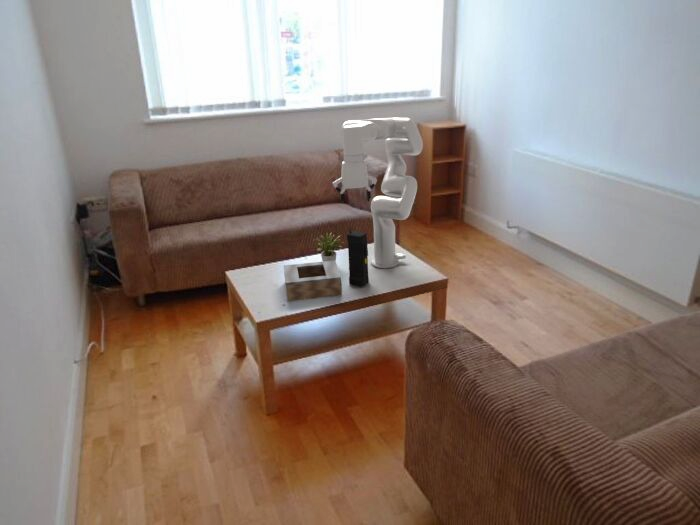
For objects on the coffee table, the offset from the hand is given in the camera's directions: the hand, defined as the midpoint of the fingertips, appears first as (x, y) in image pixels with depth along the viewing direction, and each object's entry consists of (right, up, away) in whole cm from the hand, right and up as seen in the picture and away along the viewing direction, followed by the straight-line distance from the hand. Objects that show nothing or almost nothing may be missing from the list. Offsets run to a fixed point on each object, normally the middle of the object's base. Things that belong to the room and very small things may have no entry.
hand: (355, 201), depth 204 cm
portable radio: (+2, -33, +14) cm, 36 cm away
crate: (-18, -35, +11) cm, 41 cm away
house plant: (-12, -26, +32) cm, 43 cm away
